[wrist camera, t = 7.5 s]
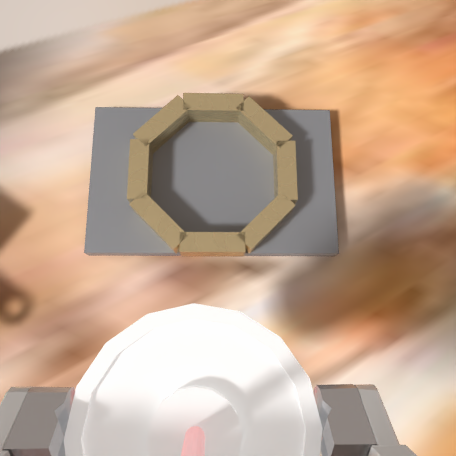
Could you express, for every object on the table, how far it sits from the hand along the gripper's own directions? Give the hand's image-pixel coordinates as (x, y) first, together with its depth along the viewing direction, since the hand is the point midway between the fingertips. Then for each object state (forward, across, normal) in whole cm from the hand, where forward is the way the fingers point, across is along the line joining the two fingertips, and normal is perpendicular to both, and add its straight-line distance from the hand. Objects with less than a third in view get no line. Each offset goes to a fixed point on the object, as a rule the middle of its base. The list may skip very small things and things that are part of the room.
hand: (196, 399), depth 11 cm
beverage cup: (+5, 0, +6) cm, 8 cm away
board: (+19, -1, +3) cm, 19 cm away
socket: (+18, 0, +2) cm, 18 cm away
